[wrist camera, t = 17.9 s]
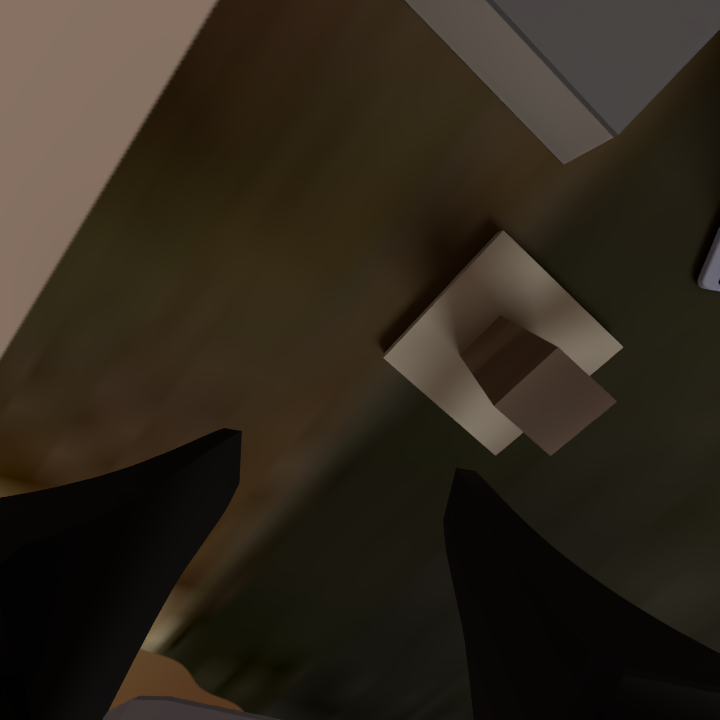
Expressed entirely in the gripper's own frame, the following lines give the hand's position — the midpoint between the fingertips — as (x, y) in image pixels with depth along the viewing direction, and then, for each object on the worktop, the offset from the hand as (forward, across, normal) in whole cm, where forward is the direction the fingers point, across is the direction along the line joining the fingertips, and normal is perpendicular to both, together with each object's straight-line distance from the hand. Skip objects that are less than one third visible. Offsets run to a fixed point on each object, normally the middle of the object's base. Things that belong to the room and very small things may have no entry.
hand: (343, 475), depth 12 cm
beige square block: (+10, -7, -3) cm, 13 cm away
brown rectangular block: (+9, -7, -3) cm, 12 cm away
